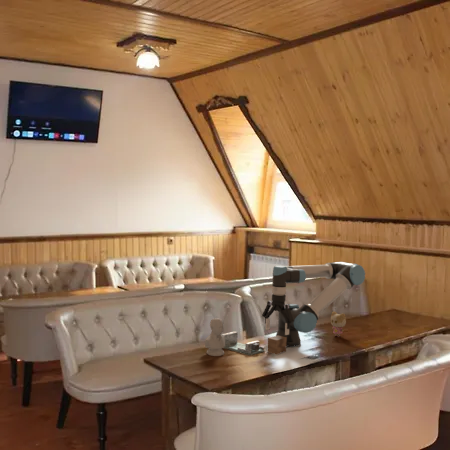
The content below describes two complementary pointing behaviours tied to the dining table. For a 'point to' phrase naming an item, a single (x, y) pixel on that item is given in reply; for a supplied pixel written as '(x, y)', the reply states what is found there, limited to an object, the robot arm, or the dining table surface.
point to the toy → (338, 322)
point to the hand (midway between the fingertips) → (277, 332)
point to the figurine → (215, 338)
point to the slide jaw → (252, 345)
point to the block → (277, 344)
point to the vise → (238, 344)
